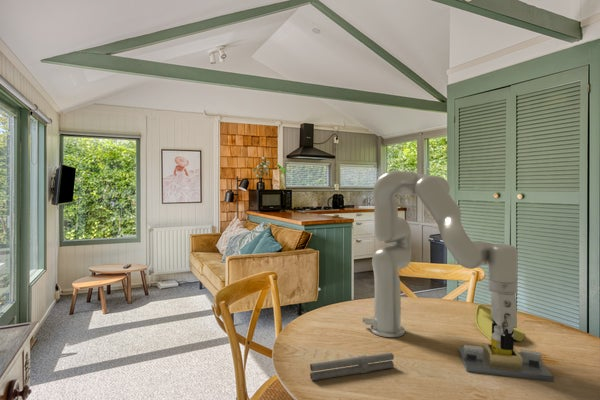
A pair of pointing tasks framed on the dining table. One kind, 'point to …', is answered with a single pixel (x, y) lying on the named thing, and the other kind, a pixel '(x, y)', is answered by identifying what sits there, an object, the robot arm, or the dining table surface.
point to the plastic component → (485, 323)
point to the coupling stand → (505, 362)
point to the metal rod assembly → (360, 368)
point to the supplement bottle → (498, 342)
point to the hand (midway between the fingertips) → (502, 342)
